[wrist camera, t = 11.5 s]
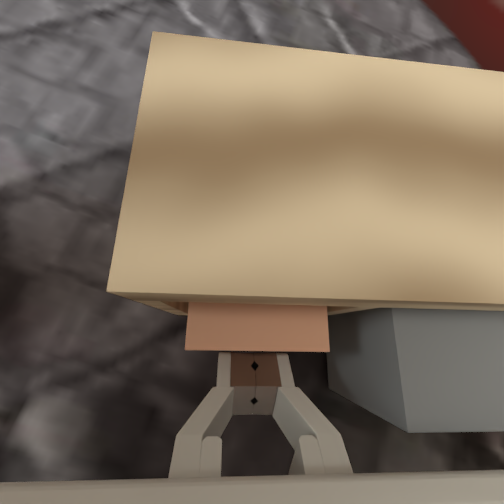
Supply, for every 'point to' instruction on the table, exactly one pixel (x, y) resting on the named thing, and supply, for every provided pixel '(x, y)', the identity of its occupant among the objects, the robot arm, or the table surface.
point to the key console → (311, 181)
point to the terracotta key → (257, 327)
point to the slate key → (421, 366)
